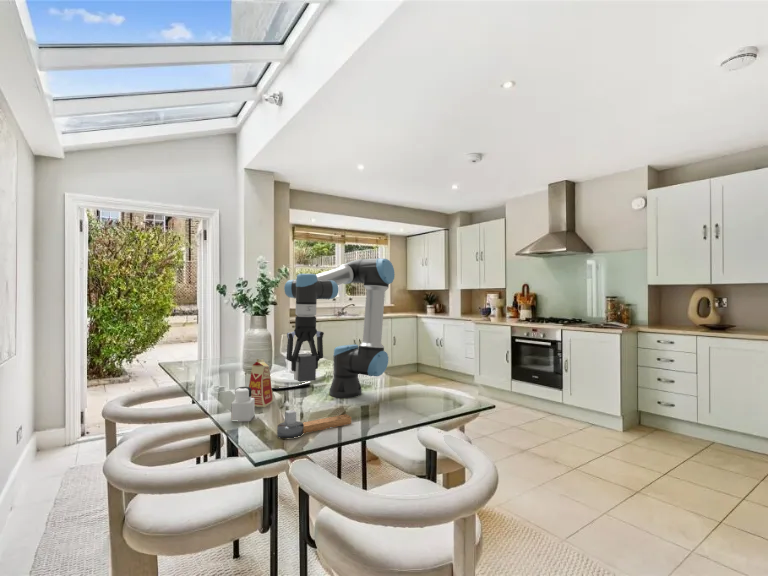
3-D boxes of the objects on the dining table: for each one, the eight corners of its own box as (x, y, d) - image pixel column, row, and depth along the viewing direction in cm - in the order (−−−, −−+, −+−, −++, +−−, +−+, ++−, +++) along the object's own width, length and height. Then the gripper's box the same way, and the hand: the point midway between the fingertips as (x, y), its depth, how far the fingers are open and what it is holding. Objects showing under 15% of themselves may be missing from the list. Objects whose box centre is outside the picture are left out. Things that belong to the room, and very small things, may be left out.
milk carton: (264, 407, 171) (264, 360, 171) (244, 405, 173) (244, 359, 173) (274, 401, 180) (274, 356, 180) (255, 399, 182) (255, 355, 182)
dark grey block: (309, 377, 152) (309, 353, 152) (315, 380, 147) (316, 355, 147) (293, 378, 149) (294, 354, 149) (299, 382, 144) (300, 356, 144)
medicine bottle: (236, 415, 160) (236, 385, 160) (254, 415, 161) (254, 385, 161) (230, 421, 153) (231, 390, 153) (250, 421, 154) (250, 390, 154)
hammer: (343, 418, 158) (343, 398, 158) (354, 425, 150) (354, 404, 150) (273, 432, 143) (273, 409, 143) (282, 441, 135) (282, 417, 135)
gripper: (284, 317, 140) (282, 383, 140) (333, 315, 150) (332, 378, 150) (277, 315, 146) (275, 379, 146) (325, 314, 156) (324, 374, 156)
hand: (304, 378), depth 148 cm, fingers closed on dark grey block, 6 cm apart
